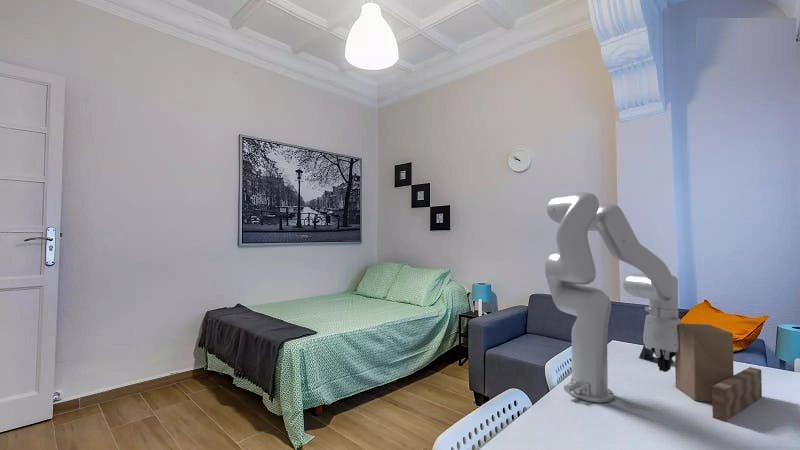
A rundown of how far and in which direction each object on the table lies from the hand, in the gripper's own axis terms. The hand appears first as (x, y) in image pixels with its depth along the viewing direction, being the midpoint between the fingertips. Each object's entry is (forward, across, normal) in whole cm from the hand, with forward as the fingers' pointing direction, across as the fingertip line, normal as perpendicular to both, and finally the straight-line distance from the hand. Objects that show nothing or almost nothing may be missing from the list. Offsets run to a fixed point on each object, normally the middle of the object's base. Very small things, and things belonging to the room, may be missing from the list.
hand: (664, 370), depth 116 cm
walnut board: (+4, +18, 0) cm, 19 cm away
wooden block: (+4, +10, 0) cm, 11 cm away
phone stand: (+4, -11, +22) cm, 25 cm away
